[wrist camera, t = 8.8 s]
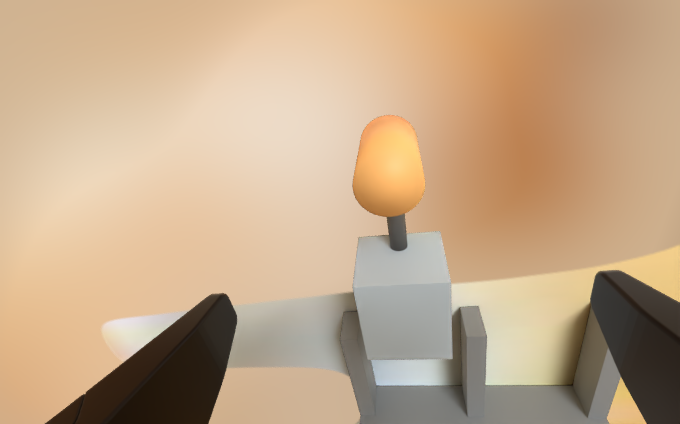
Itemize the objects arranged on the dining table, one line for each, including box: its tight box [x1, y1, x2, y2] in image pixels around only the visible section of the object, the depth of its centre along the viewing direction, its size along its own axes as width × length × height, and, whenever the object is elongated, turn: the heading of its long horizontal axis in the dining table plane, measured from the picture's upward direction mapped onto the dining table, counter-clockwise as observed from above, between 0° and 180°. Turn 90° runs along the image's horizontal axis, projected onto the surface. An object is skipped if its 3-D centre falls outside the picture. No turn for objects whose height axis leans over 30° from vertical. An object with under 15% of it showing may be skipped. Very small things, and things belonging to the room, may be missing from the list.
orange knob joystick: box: [353, 115, 453, 360], centre depth 20 cm, size 14×5×5 cm, turn 10°
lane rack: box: [340, 306, 621, 424], centre depth 25 cm, size 10×18×6 cm, turn 100°
